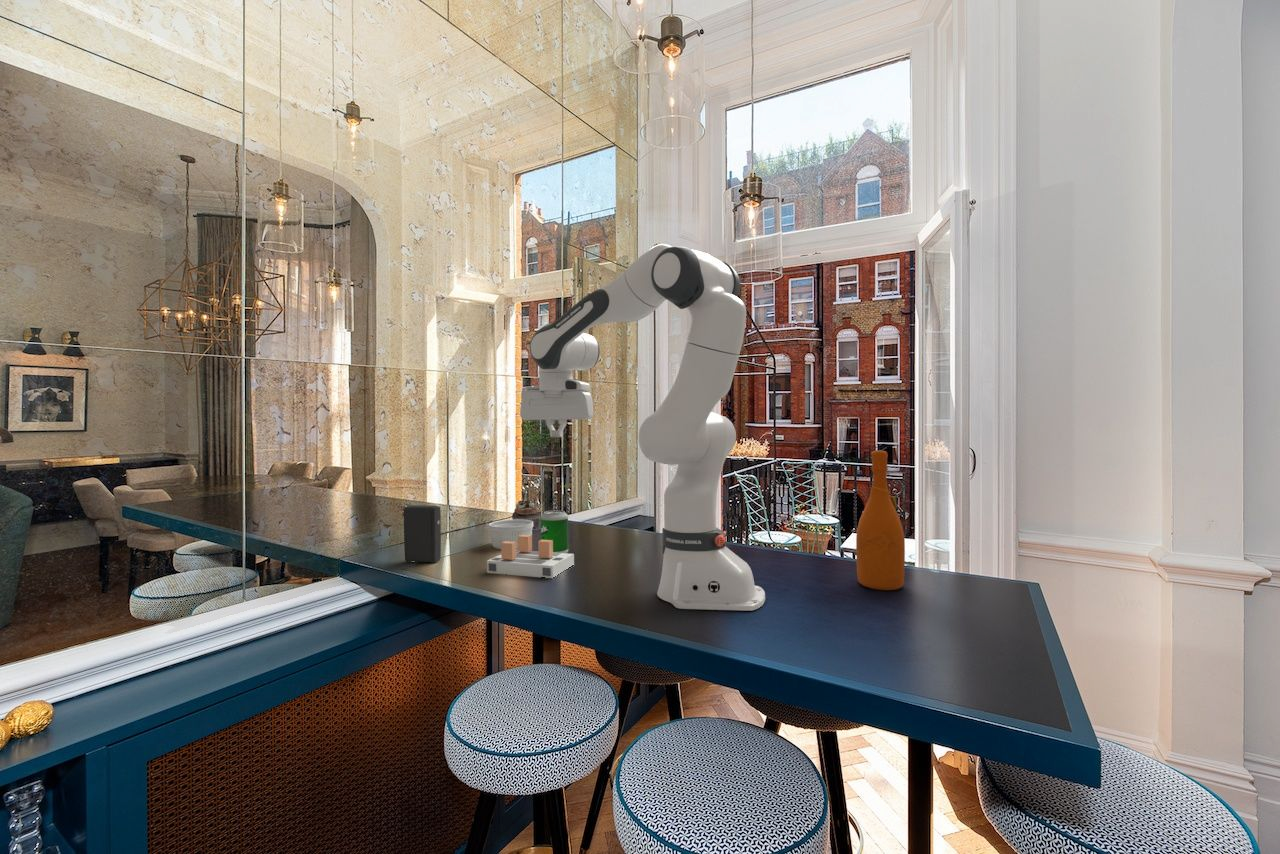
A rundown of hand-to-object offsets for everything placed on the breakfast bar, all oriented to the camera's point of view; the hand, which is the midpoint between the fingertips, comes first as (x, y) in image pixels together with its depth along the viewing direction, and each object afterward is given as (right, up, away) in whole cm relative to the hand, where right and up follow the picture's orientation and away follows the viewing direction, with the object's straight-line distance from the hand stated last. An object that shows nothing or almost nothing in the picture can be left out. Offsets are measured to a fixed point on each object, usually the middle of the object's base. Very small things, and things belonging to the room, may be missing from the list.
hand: (556, 437), depth 144 cm
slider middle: (-1, -30, -9) cm, 31 cm away
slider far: (-8, -30, -2) cm, 31 cm away
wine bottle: (+76, -33, -24) cm, 86 cm away
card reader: (-36, -34, +1) cm, 49 cm away
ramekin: (-17, -33, +19) cm, 42 cm away
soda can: (-2, -33, +7) cm, 34 cm away
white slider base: (-5, -33, -7) cm, 34 cm away
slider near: (-10, -30, -10) cm, 33 cm away
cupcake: (-17, -33, +44) cm, 58 cm away
